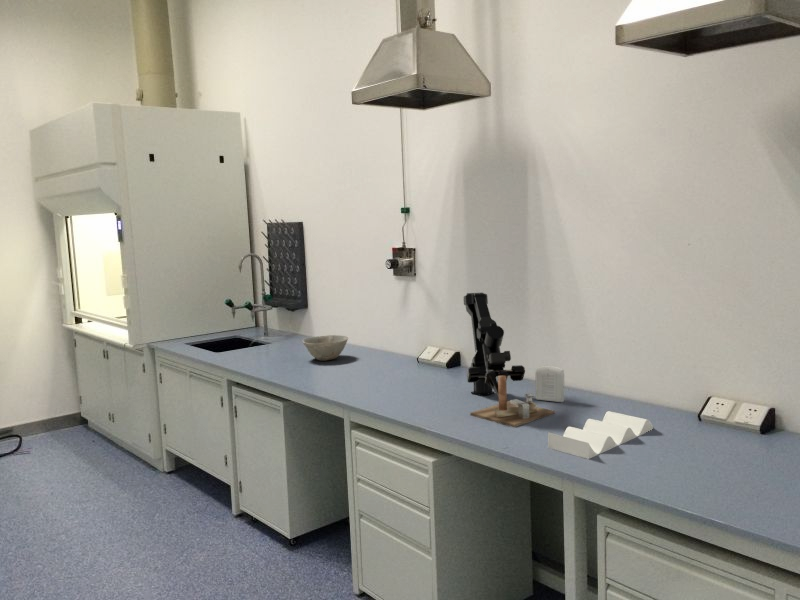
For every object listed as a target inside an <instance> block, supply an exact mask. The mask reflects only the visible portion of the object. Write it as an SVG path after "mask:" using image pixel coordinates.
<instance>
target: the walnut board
mask: <svg viewBox="0 0 800 600" xmlns="http://www.w3.org/2000/svg"><path fill="white" fill-rule="evenodd" d="M514 406H516V405H514V404H511V403H510V400H507V408H508V407H514ZM496 409H499V403H498V404H495V405H491V406H488V407H485V408H482V409H478V410H476V411H475V410H474V411H472V412H470V413H469V415H470V416H473V417H476V418H479V419H483V420H487V421H491V422H494V423H497V424H498V423H499V424H502V425H505V426H508V427H513V428H516V427H518V426H521V425H522V426H523V425H524V424H528V423H531V422H533V421H536V420H539V419H541V418H545V417H548V416H550V415H554V414H555V410H552V409H547V408H543V407H540V406H539V407H538V406H536V412H535V413H529V418H526V419H522V418H520V417H519V414H517V415H511V416H505V417H499V418H498V417H496V416H495V410H496Z"/></svg>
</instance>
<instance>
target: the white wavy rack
mask: <svg viewBox="0 0 800 600" xmlns="http://www.w3.org/2000/svg"><path fill="white" fill-rule="evenodd" d="M652 429H653V430H655V428H654V425H653V424H652V422H651V420H649V419H646V418H642V417H638V416H633V415H629V414H623V413H620V412H614V411H609V410H608V411H606V413H605V415H604V417H603V418H602V419H601V420H597V419H593V418H587V420H586V421H585V424H584V426H583V428H582V429H581V428H577V427H574V426H567V427H566V429H565V431H564V432H563V435H560V434H556V433H553V432H547V448H548V449H552V450H554V451H558V452H561V453H565V454H569V455H573V456H576V457H579V458H583V459H587V460H590V459H591V458H594V457H596V456H599V455H601V454H603V453H605V452H608V451H609V450H611V449H614V448H616V447H618V446H620V445H623V444H626V443H627V442H629V441H632V440H633V439H636V438H638V437H640V436H643V435H645V434H646V432H647V433H648V431H649V432H651V431H653V430H652ZM650 430H651V431H650Z"/></svg>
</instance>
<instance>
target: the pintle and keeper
mask: <svg viewBox="0 0 800 600" xmlns="http://www.w3.org/2000/svg"><path fill="white" fill-rule="evenodd" d="M524 397H525V398H526V402H527V403H526V402H525V401H522V400H520V399H518V398H517V399H516V398H515V399H510V400H509V401H510V403H511V404H514V405H516V406H518V407H519V417H520V418H522V419H526V418H529V405H530V404H532V402H533V397H534V393H531V392H527V393H524Z"/></svg>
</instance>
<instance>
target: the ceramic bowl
mask: <svg viewBox="0 0 800 600" xmlns="http://www.w3.org/2000/svg"><path fill="white" fill-rule="evenodd" d="M348 341H349V337H348V336H346V335H339V334H337V335H336V334H334V335H331V334H328V335H319V336H312V337H311V336H310V337H306V338H304V339H302V340H301V342H302V343H303V346H305V348H306V350H307V351H308V352H309V354H310V356H312V357H313V358H314V359H316V360H318V361H320V362H321V361H322V362H325V361H331V360H335V359H337V358H338V357H339V356H340V355H341V354H342V352H343V351H344V349H345V347H346V345H347V343H348Z"/></svg>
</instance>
